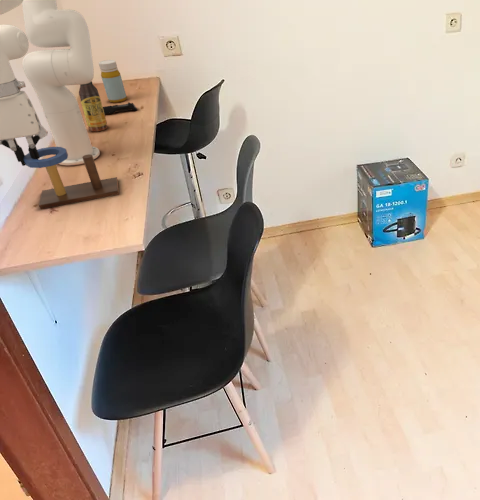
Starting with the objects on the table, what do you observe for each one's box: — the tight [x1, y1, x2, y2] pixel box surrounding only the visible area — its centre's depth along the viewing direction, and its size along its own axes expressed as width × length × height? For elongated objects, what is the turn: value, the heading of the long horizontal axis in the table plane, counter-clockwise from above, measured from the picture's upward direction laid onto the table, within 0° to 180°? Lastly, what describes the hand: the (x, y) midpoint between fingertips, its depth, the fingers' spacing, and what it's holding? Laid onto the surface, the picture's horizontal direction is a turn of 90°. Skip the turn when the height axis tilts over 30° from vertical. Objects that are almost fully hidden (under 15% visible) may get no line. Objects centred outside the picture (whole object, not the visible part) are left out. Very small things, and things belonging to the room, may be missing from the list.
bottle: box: [98, 59, 128, 104], centre depth 201 cm, size 7×7×15 cm
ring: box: [24, 146, 68, 169], centre depth 129 cm, size 10×10×2 cm
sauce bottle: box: [78, 80, 108, 133], centre depth 173 cm, size 6×6×20 cm
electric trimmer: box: [102, 101, 138, 115], centre depth 192 cm, size 4×16×3 cm, turn 113°
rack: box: [38, 154, 120, 210], centre depth 134 cm, size 9×19×10 cm, turn 112°
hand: (30, 162), depth 128 cm, fingers closed on ring, 2 cm apart
